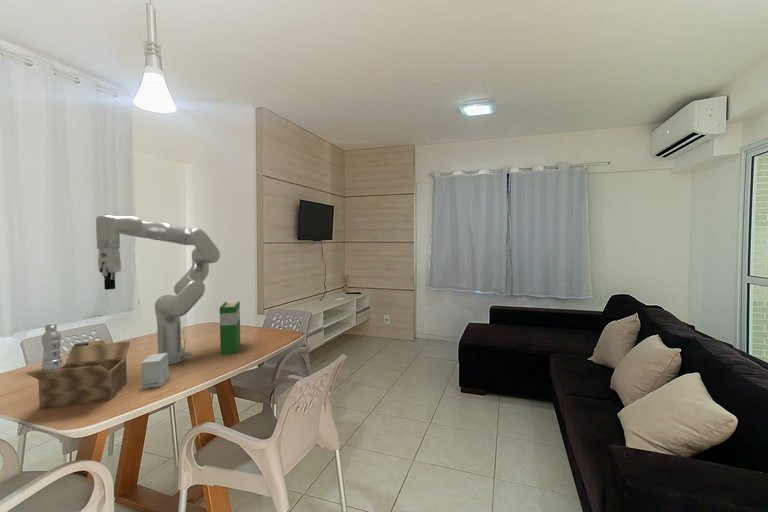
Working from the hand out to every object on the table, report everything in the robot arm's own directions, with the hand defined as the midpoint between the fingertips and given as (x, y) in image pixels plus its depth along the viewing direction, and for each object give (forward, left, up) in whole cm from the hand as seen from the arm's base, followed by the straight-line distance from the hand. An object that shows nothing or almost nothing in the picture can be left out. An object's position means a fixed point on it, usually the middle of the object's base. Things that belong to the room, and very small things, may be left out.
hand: (110, 289), depth 144 cm
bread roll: (+19, -35, -38) cm, 55 cm away
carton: (+2, +18, -37) cm, 41 cm away
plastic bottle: (+29, -20, -37) cm, 51 cm away
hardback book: (-44, -23, -37) cm, 62 cm away
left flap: (+2, +29, -25) cm, 38 cm away
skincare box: (-19, +14, -37) cm, 44 cm away
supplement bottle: (+16, -14, -37) cm, 43 cm away
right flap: (+2, +7, -24) cm, 25 cm away
